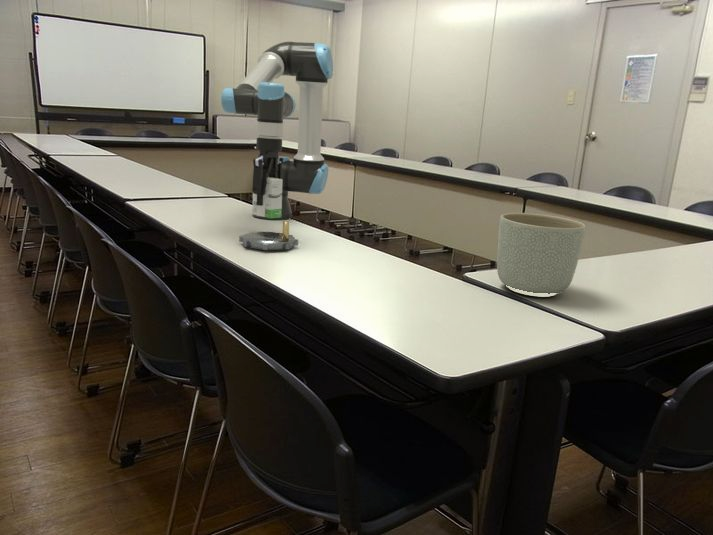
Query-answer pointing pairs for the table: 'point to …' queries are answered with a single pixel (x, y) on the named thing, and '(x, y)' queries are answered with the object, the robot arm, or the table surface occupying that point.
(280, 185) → the ink box
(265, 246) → the sprocket
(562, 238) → the planter
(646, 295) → the table surface
